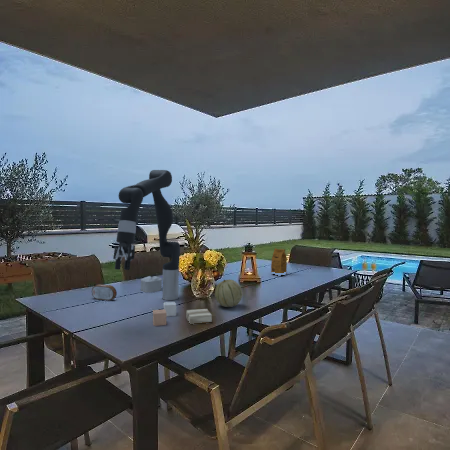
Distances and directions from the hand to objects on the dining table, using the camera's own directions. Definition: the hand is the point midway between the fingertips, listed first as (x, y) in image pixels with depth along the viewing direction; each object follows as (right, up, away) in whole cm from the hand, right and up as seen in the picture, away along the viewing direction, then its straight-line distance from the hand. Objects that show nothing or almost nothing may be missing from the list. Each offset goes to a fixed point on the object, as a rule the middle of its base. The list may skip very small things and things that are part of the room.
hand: (121, 269), depth 138 cm
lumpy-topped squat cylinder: (-3, -23, +70) cm, 74 cm away
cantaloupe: (+46, -25, +36) cm, 63 cm away
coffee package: (+88, -23, +130) cm, 159 cm away
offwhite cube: (+17, -25, +21) cm, 37 cm away
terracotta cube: (+14, -25, +8) cm, 30 cm away
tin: (-25, -24, +46) cm, 58 cm away
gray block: (+32, -26, +13) cm, 43 cm away
